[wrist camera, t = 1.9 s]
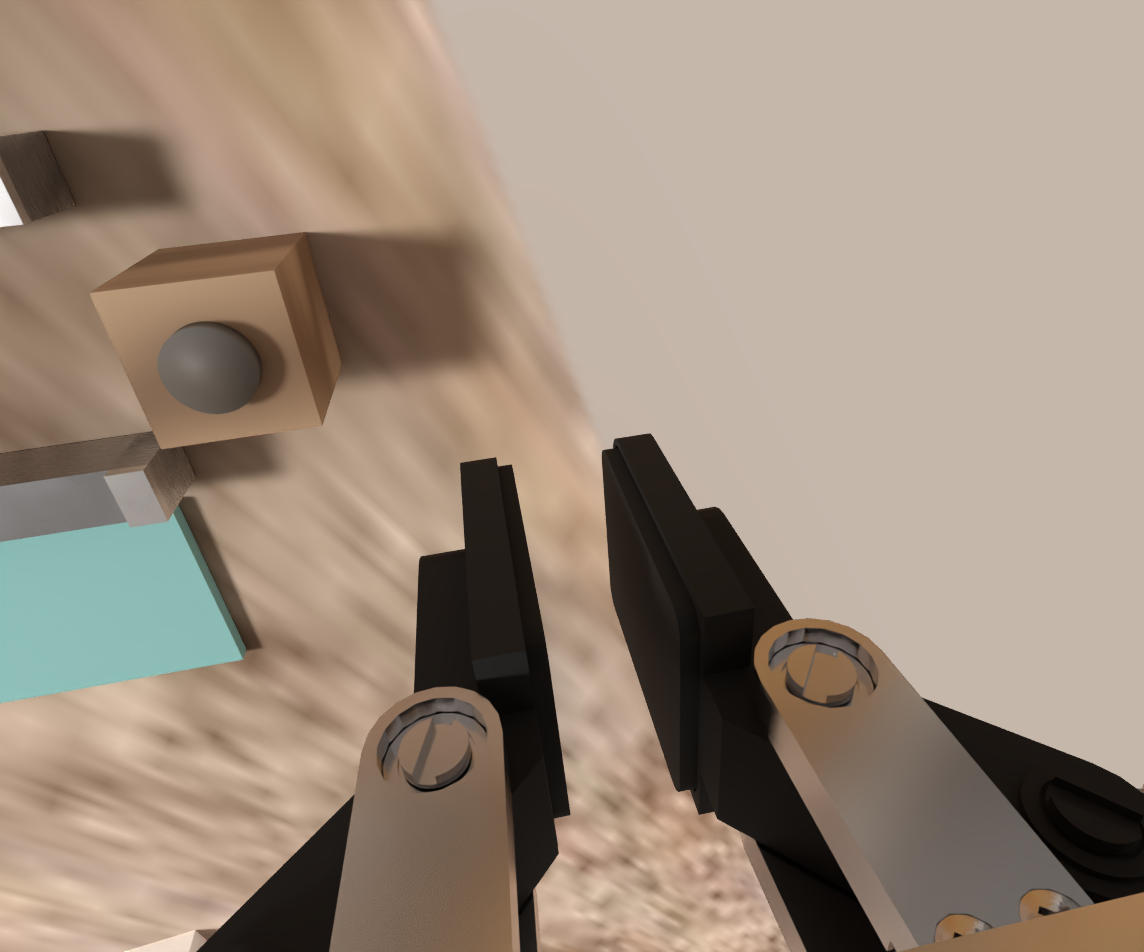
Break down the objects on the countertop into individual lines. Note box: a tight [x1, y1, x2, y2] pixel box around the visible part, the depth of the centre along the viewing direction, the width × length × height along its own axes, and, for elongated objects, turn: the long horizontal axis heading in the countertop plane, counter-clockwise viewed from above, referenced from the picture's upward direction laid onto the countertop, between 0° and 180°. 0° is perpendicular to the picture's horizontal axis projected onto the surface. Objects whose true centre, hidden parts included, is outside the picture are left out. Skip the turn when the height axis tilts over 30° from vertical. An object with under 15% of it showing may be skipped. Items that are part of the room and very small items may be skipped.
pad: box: [0, 504, 246, 703], centre depth 27 cm, size 8×10×1 cm
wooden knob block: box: [89, 232, 342, 449], centre depth 20 cm, size 4×4×6 cm
